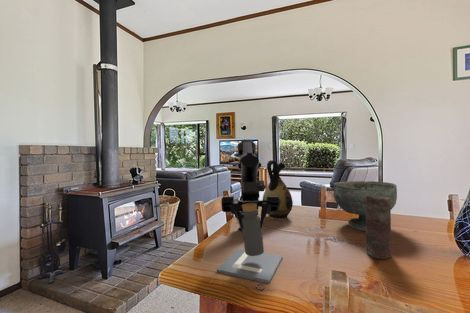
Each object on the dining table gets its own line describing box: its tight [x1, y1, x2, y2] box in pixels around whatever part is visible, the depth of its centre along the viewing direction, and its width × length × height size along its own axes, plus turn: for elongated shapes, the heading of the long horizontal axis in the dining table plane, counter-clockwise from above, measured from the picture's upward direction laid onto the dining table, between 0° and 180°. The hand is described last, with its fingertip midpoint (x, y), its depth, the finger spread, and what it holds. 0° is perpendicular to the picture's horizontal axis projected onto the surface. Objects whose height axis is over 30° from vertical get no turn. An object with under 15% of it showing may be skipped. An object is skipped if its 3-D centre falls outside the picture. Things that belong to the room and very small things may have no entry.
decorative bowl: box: [333, 180, 398, 232], centre depth 110 cm, size 26×26×20 cm
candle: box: [365, 195, 392, 260], centre depth 81 cm, size 8×7×20 cm
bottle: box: [242, 203, 265, 256], centre depth 75 cm, size 6×6×15 cm
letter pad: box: [216, 248, 284, 284], centre depth 75 cm, size 16×16×1 cm
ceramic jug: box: [262, 159, 294, 221], centre depth 124 cm, size 17×15×30 cm
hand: (251, 228), depth 74 cm, fingers closed on bottle, 6 cm apart
